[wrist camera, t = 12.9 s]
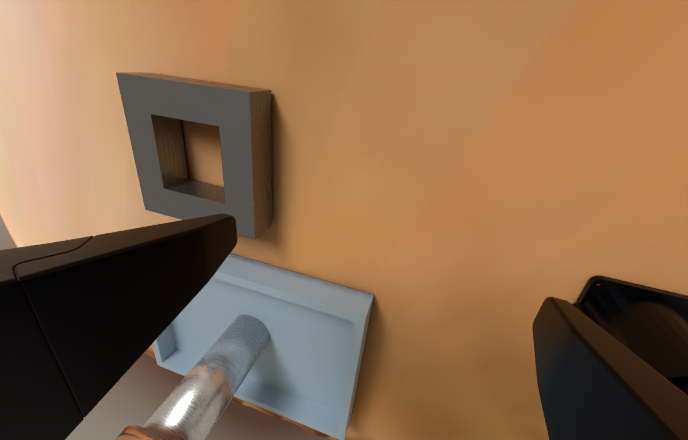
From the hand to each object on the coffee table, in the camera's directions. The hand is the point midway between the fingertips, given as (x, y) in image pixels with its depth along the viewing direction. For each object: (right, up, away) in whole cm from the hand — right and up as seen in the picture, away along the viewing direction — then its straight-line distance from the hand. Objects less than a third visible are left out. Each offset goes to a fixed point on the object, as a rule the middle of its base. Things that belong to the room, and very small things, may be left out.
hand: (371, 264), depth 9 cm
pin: (-10, -10, +21) cm, 25 cm away
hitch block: (-11, +6, +15) cm, 19 cm away
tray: (-10, -9, +22) cm, 25 cm away
